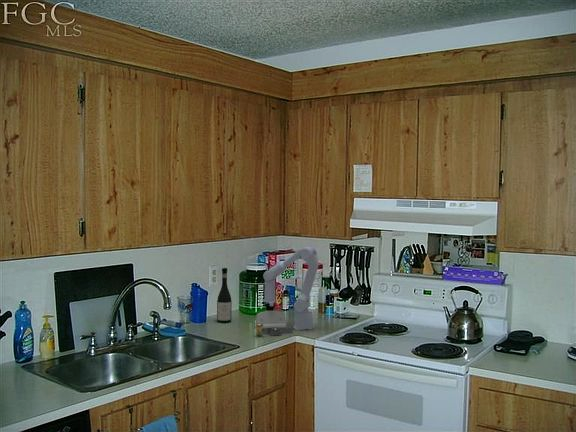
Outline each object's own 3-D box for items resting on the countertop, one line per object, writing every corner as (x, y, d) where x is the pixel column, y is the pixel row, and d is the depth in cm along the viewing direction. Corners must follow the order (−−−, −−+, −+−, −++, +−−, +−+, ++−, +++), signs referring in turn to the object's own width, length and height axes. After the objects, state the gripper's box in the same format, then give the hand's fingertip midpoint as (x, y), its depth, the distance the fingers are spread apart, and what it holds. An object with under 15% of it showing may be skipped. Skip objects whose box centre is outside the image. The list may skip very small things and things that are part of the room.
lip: (292, 332, 289) (292, 326, 289) (294, 335, 283) (294, 328, 283) (256, 333, 286) (256, 327, 285) (257, 336, 280) (257, 329, 280)
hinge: (256, 329, 293) (255, 310, 296) (255, 330, 297) (254, 311, 300) (287, 328, 297) (286, 309, 300) (285, 329, 301) (284, 310, 304)
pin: (262, 334, 284) (262, 322, 283) (263, 336, 280) (263, 324, 279) (254, 335, 283) (254, 323, 283) (255, 337, 279) (255, 325, 279)
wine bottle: (231, 323, 307) (231, 269, 305) (216, 323, 306) (217, 269, 305) (231, 319, 315) (231, 267, 313) (217, 319, 314) (217, 267, 313)
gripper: (260, 289, 310) (260, 313, 310) (264, 294, 295) (264, 319, 296) (273, 289, 311) (273, 313, 312) (277, 294, 297) (277, 319, 297)
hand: (269, 316), depth 304 cm, fingers closed
